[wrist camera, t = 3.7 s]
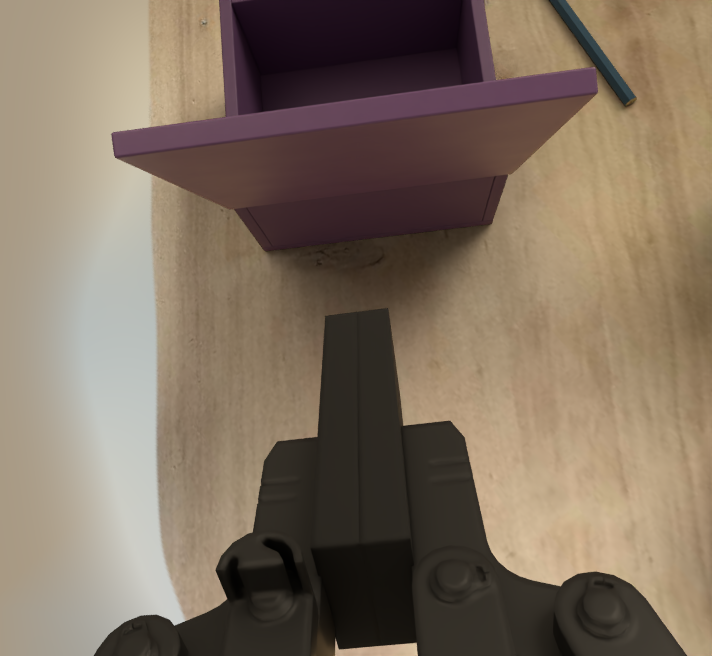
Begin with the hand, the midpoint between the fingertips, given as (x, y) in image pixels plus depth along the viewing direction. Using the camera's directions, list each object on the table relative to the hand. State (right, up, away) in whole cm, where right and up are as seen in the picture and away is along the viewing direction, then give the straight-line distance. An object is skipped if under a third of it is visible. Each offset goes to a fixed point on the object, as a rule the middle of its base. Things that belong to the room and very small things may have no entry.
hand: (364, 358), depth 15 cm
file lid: (0, +9, +14) cm, 16 cm away
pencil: (+16, +23, +33) cm, 43 cm away
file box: (+1, +14, +32) cm, 35 cm away
